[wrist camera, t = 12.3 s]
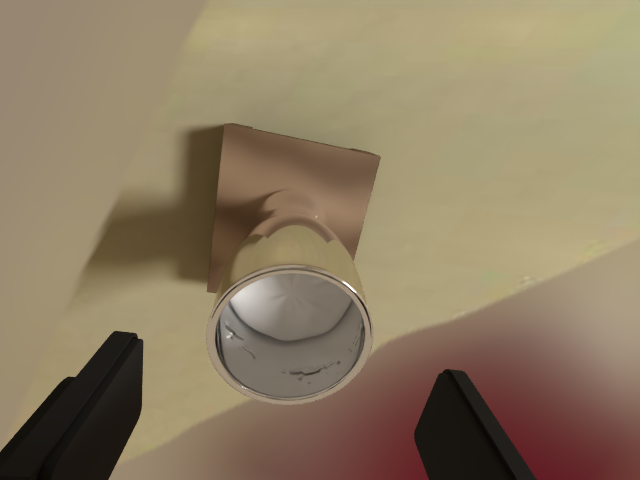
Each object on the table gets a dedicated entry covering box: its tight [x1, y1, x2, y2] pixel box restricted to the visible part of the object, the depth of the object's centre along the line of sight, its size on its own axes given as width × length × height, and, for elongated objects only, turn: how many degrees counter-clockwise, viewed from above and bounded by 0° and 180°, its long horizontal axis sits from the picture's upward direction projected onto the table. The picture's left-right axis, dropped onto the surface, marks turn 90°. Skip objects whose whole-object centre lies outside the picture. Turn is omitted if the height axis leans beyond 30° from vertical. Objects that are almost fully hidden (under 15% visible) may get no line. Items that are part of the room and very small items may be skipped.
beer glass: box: [206, 190, 373, 405], centre depth 20 cm, size 7×7×15 cm
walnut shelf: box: [207, 123, 381, 293], centre depth 29 cm, size 14×12×4 cm
